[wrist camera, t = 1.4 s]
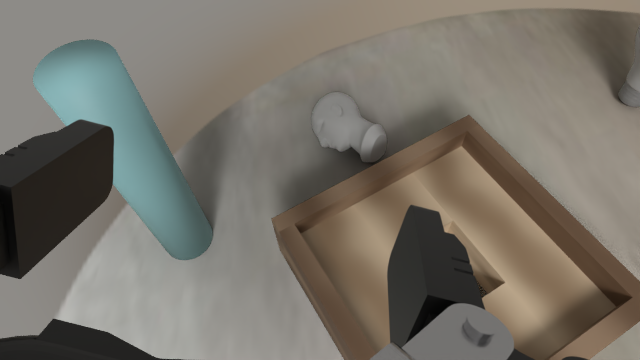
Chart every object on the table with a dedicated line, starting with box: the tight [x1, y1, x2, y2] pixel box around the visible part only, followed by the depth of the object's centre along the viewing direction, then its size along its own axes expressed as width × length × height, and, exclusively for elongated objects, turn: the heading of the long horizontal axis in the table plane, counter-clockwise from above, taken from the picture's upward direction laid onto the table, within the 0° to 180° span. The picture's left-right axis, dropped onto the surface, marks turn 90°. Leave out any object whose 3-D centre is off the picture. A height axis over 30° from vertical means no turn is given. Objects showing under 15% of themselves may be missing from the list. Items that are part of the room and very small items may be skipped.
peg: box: [33, 40, 213, 260], centre depth 30 cm, size 4×4×19 cm
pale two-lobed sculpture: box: [311, 92, 387, 162], centre depth 41 cm, size 4×8×5 cm
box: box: [272, 115, 640, 360], centre depth 32 cm, size 18×18×6 cm
